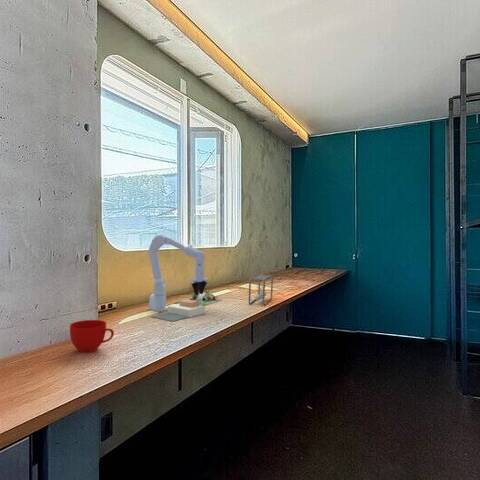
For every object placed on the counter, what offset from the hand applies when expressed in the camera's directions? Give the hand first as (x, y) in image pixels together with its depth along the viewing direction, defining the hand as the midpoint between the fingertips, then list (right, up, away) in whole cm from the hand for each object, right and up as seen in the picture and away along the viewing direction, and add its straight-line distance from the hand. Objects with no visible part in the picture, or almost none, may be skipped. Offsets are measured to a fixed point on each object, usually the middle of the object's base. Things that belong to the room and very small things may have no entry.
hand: (198, 294), depth 219 cm
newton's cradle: (+39, -10, +33) cm, 52 cm away
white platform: (-6, -9, -9) cm, 14 cm away
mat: (-13, -9, -21) cm, 26 cm away
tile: (-5, -4, -7) cm, 9 cm away
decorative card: (-2, -10, +27) cm, 29 cm away
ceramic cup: (-32, -10, -78) cm, 85 cm away
